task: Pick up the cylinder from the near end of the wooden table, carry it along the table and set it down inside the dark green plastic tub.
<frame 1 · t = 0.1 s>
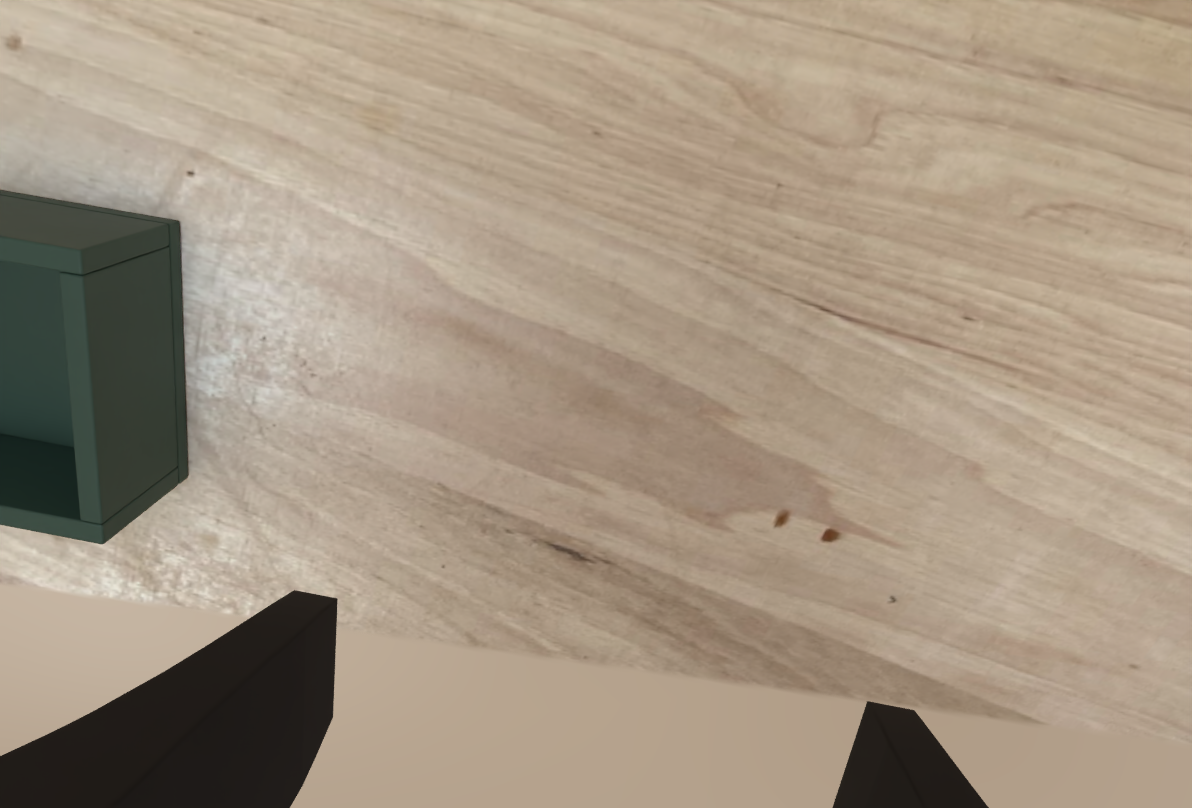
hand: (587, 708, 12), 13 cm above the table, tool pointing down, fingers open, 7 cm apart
tub: (13, 325, 25), on the table
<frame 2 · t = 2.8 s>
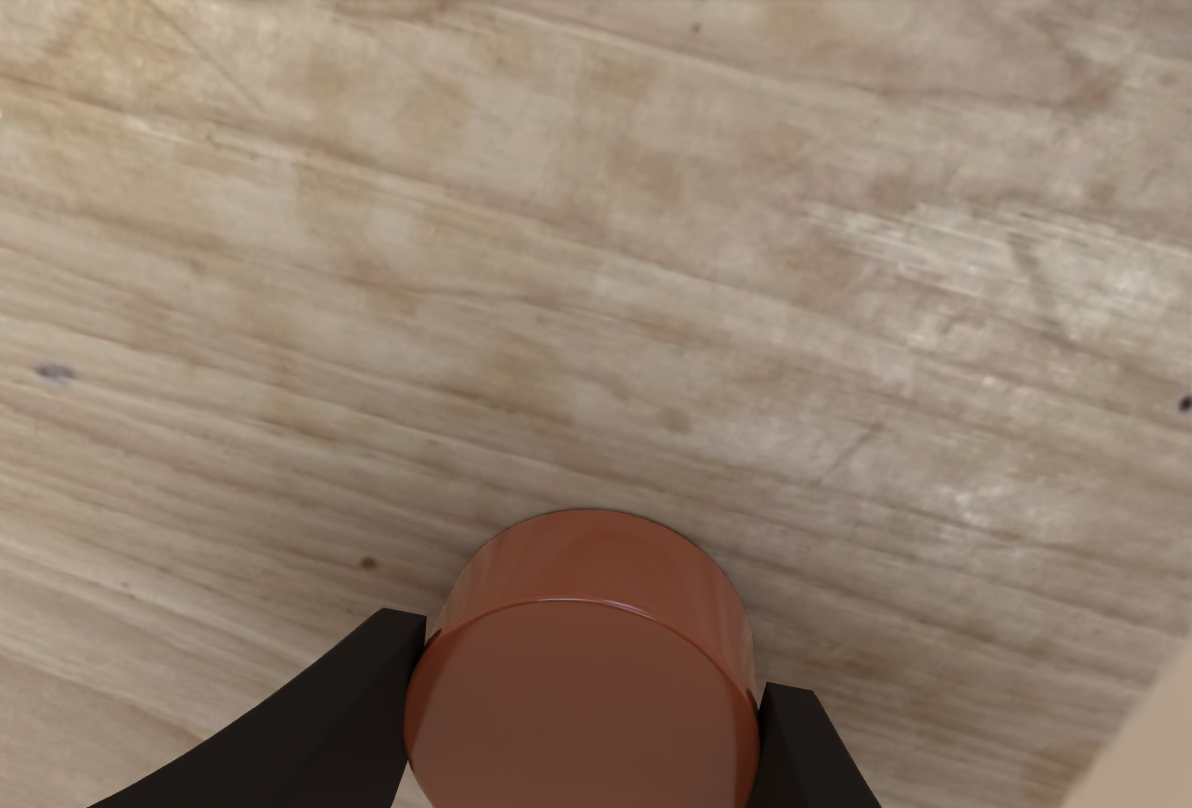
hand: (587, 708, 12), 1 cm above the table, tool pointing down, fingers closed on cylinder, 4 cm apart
cylinder: (596, 643, 13), on the table, touching gripper
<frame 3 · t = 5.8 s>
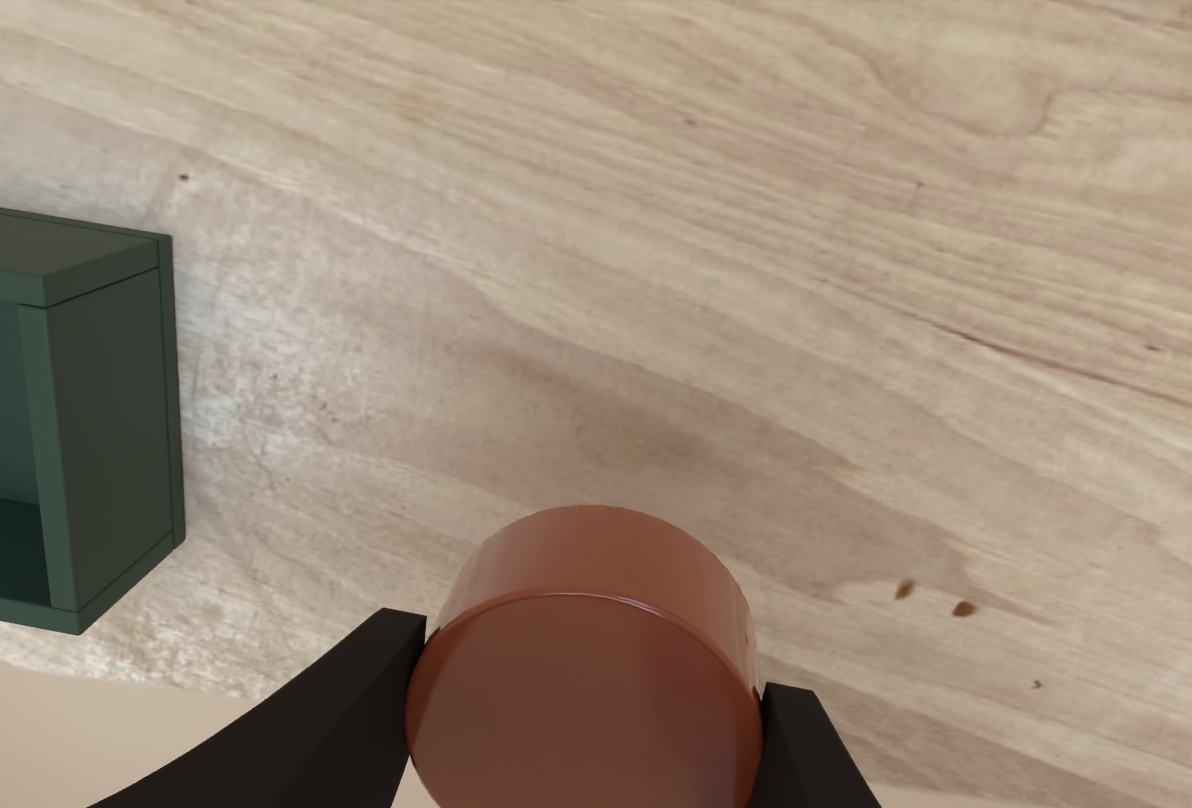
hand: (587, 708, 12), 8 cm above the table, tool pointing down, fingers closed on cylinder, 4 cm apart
cylinder: (598, 639, 13), point 7 cm above the table, touching gripper
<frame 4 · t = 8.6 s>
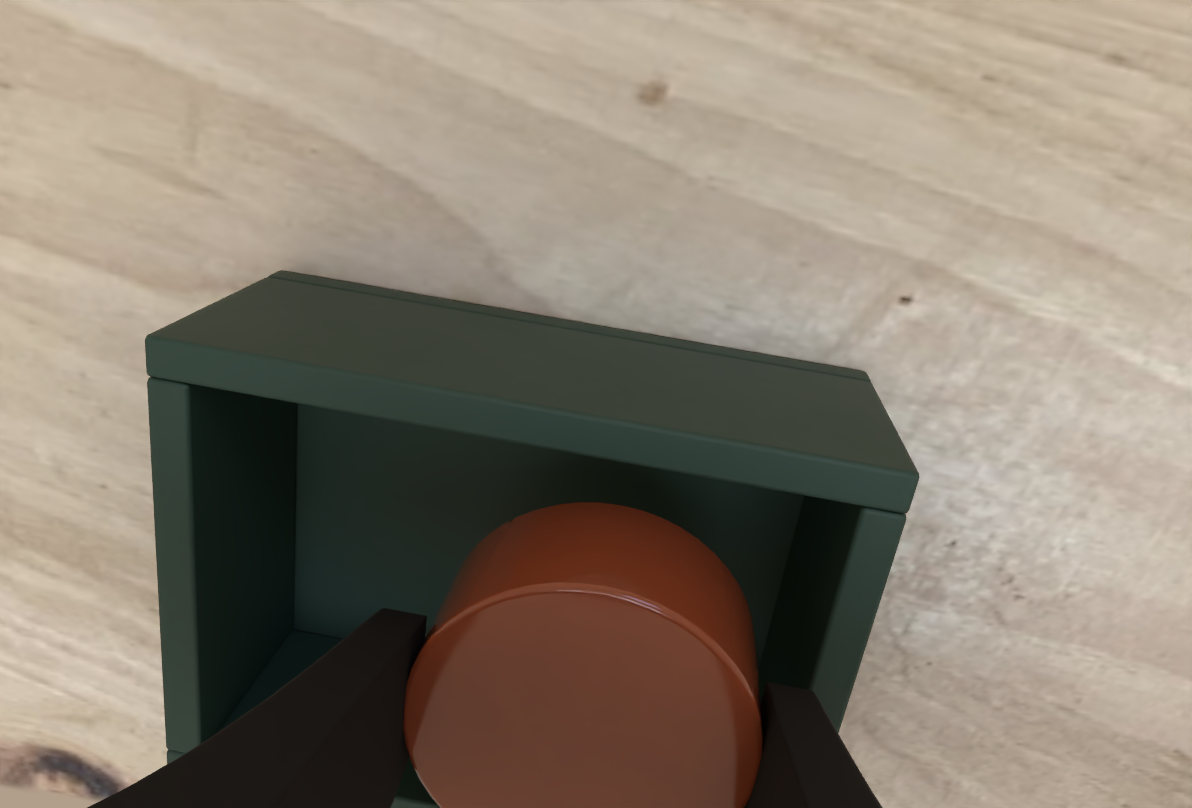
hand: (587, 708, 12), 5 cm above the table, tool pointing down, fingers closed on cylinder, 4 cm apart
tub: (540, 515, 16), on the table
cylinder: (597, 637, 13), point 3 cm above the table, touching gripper
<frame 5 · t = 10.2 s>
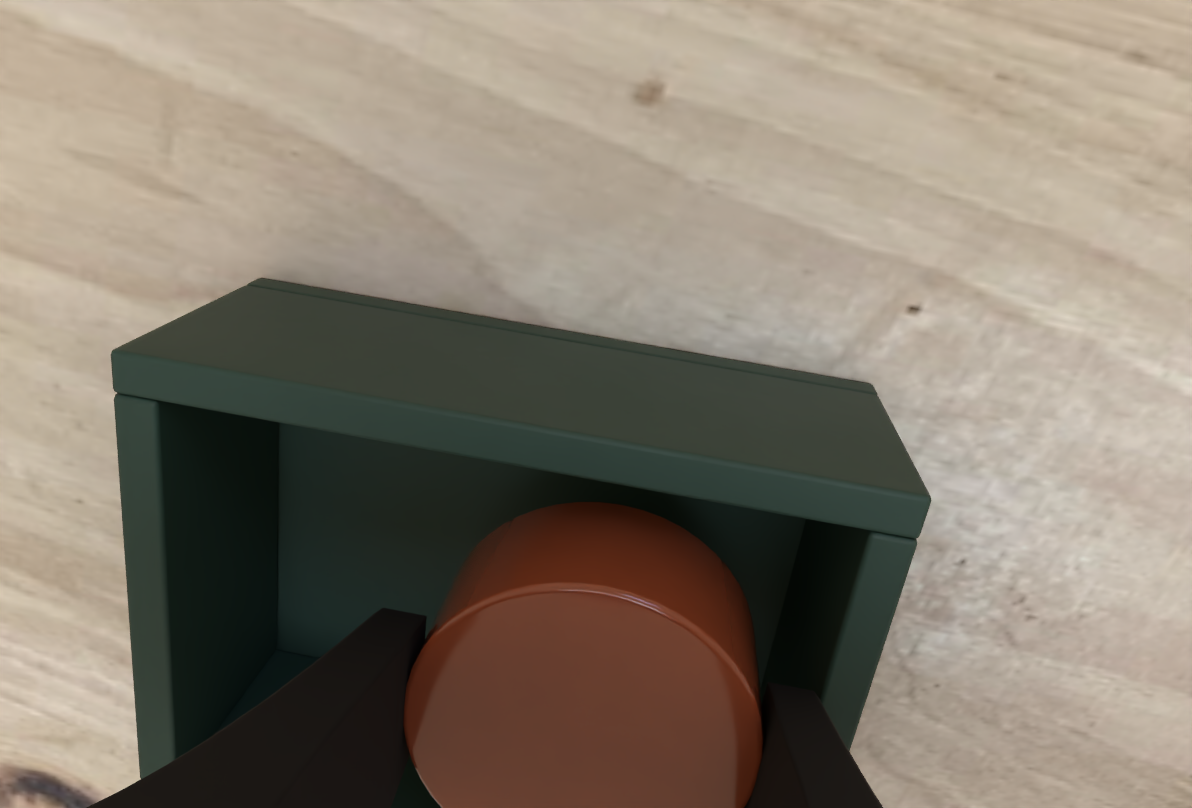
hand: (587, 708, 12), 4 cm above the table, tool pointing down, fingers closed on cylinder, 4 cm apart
tub: (533, 532, 16), on the table
cylinder: (598, 636, 13), point 3 cm above the table, touching gripper
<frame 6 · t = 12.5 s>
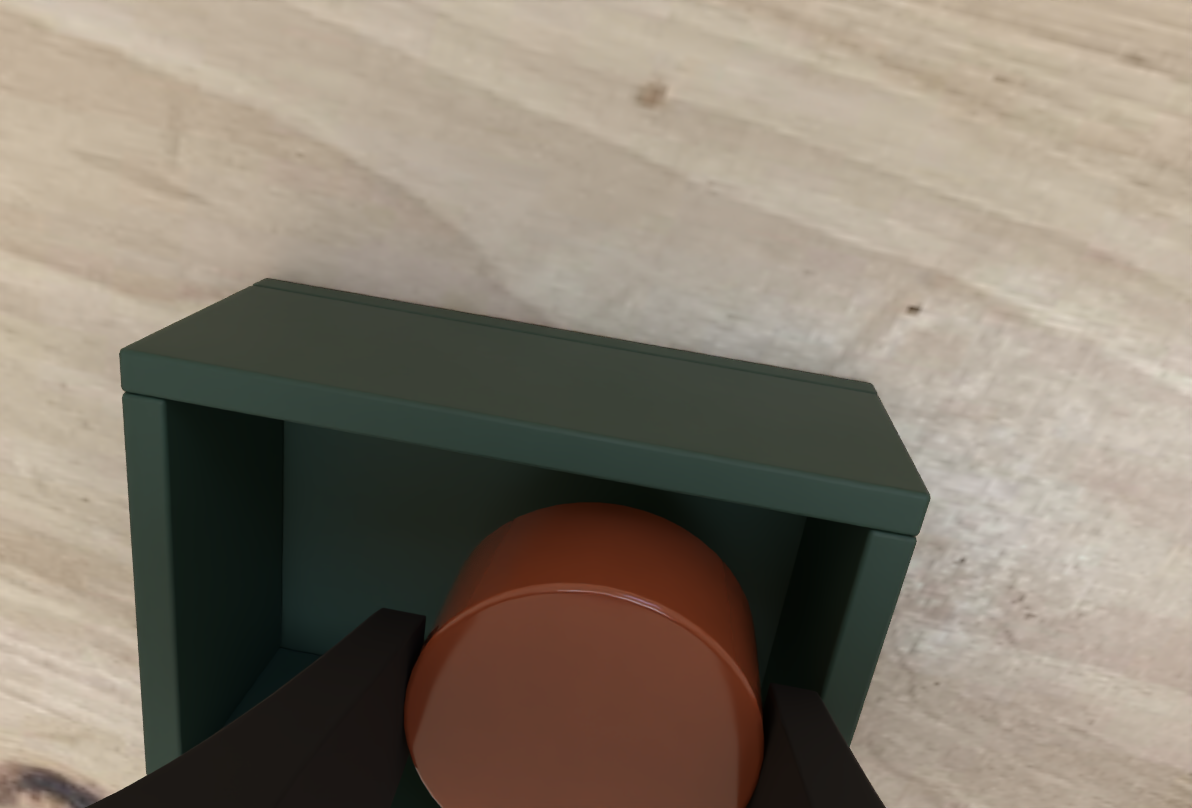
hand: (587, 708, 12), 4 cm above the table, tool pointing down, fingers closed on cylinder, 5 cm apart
tub: (535, 530, 16), on the table
cylinder: (598, 637, 13), point 3 cm above the table, touching gripper
when the fingers open (5 cm above the table, at t = 14.7 s): cylinder drops 3 cm, resting on tub.
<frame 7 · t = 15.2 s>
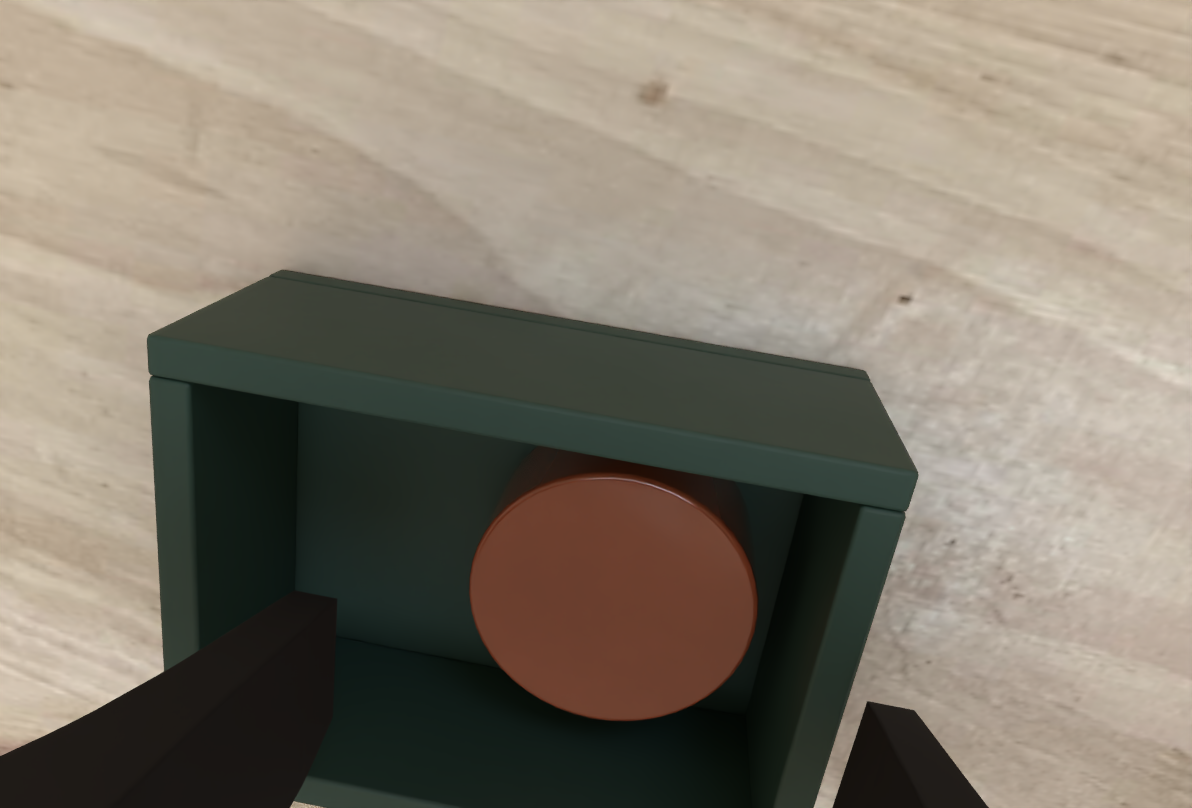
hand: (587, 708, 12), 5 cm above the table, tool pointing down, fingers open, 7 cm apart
tub: (541, 514, 16), on the table
cylinder: (622, 536, 16), resting on tub
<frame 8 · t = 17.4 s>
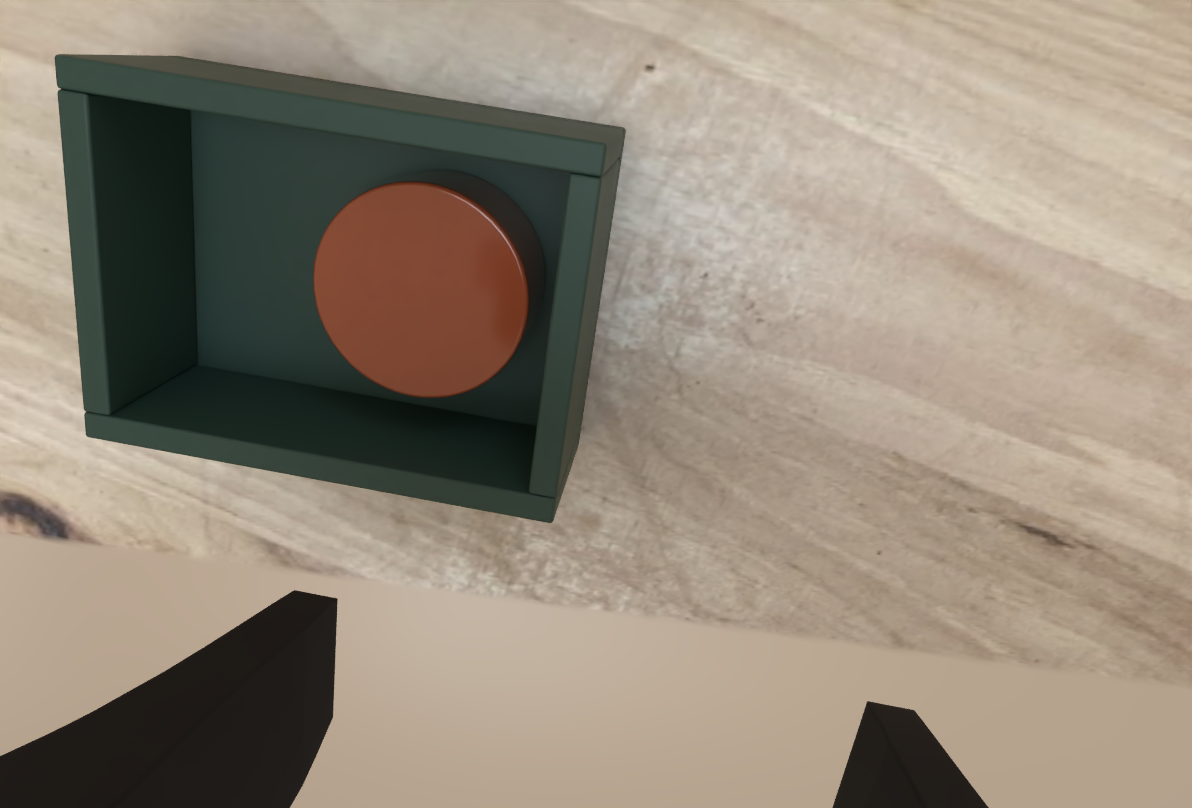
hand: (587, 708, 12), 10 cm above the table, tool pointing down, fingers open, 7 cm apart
tub: (388, 262, 21), on the table
cylinder: (447, 272, 20), resting on tub
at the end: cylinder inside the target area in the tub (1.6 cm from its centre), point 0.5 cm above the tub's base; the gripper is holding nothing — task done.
